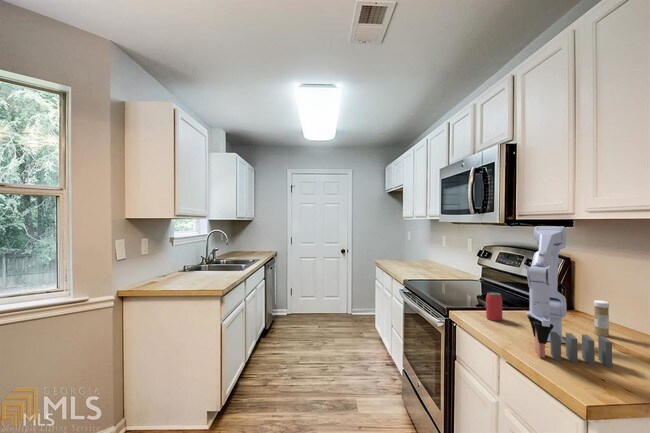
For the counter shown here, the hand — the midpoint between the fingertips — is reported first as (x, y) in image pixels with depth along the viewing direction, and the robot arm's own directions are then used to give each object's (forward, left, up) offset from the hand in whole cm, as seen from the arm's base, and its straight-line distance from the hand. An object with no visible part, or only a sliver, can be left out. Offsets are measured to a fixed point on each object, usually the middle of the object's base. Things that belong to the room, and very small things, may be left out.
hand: (540, 340), depth 107 cm
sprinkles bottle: (-28, +28, -6) cm, 40 cm away
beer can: (-36, -9, -6) cm, 38 cm away
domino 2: (0, +9, -6) cm, 11 cm away
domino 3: (0, +14, -6) cm, 15 cm away
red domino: (0, 0, -5) cm, 5 cm away
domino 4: (0, +18, -6) cm, 19 cm away
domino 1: (0, +5, -6) cm, 7 cm away
